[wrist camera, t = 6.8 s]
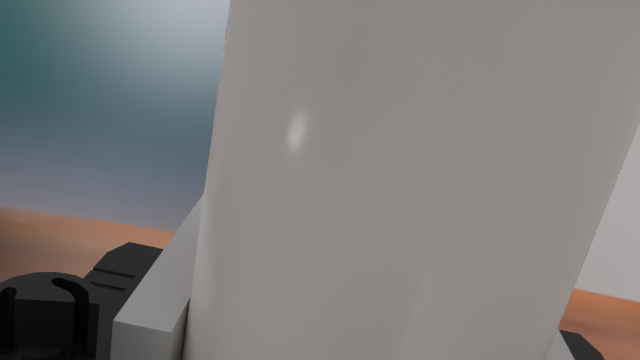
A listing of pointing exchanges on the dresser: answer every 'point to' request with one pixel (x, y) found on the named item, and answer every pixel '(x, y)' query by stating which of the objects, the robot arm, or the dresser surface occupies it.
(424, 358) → the grey tall block
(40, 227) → the dresser surface
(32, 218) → the dresser surface
